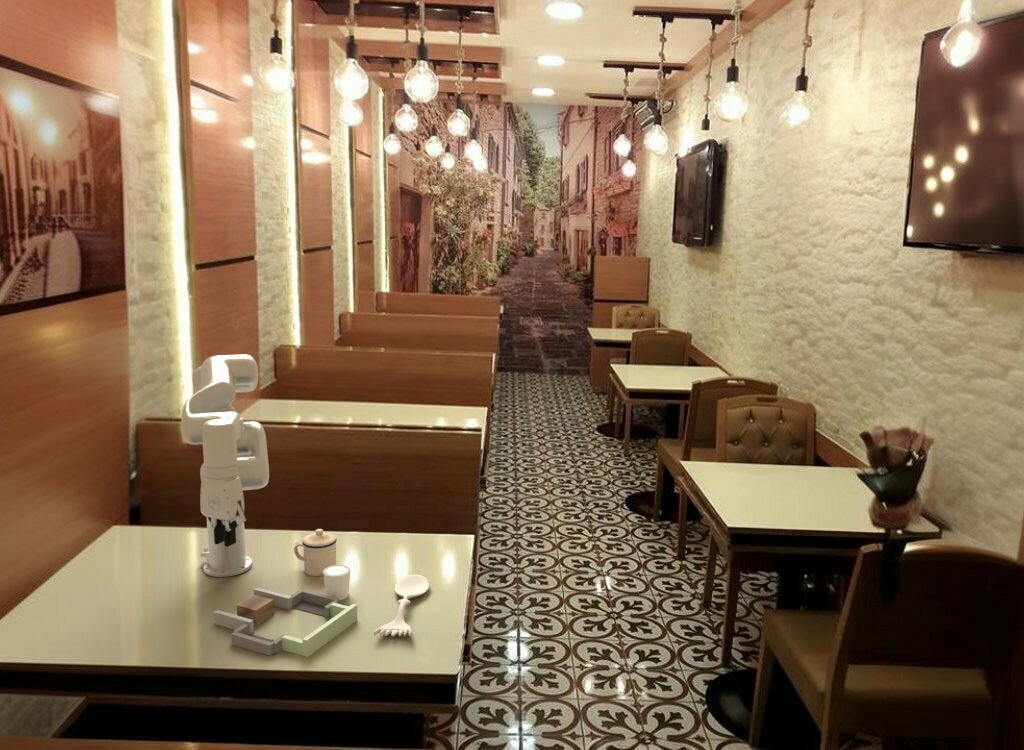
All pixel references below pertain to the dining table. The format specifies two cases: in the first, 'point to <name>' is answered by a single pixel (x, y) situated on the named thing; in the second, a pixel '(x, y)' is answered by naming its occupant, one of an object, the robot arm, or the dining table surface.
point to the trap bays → (268, 647)
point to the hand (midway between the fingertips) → (225, 542)
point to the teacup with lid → (317, 552)
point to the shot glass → (337, 581)
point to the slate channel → (304, 647)
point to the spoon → (404, 604)
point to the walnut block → (256, 608)
